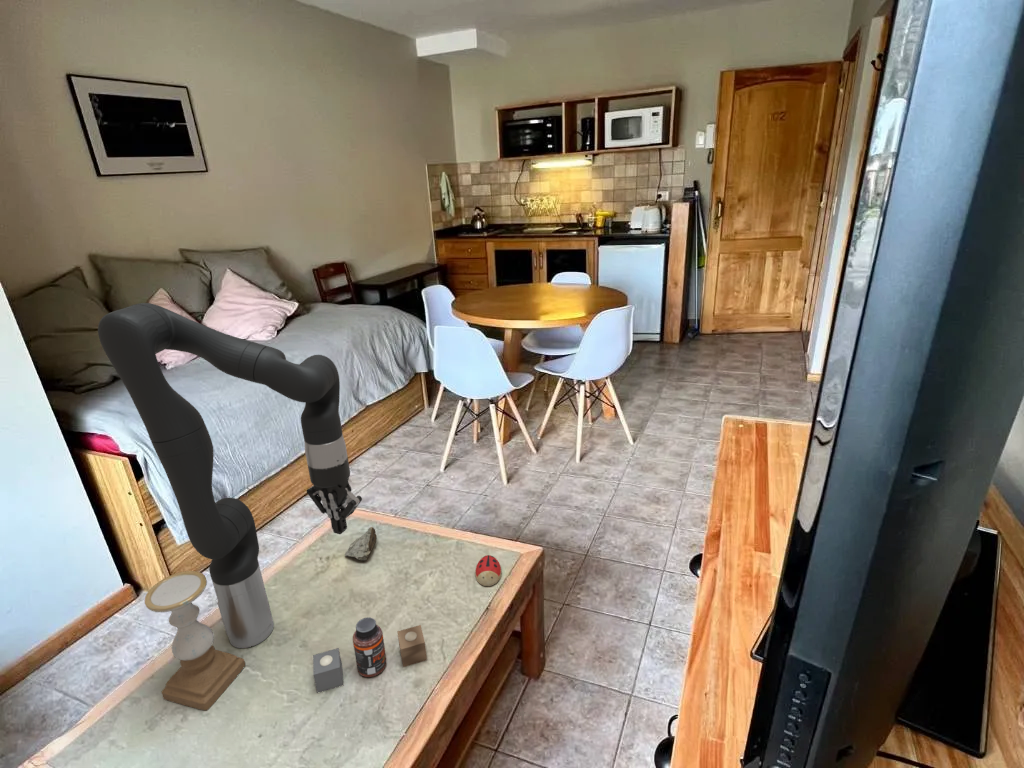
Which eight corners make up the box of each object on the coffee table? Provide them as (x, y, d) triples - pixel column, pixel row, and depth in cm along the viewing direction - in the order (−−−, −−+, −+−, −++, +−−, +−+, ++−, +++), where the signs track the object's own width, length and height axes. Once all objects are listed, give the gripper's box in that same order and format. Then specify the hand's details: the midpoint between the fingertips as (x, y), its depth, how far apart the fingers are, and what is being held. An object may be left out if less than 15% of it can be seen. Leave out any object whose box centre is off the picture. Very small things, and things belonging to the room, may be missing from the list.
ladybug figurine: (475, 589, 133) (474, 577, 132) (475, 562, 142) (474, 551, 141) (502, 587, 133) (502, 575, 132) (500, 560, 143) (500, 549, 141)
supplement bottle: (379, 681, 109) (372, 638, 105) (352, 676, 111) (344, 634, 107) (391, 656, 115) (385, 615, 111) (365, 652, 116) (358, 611, 112)
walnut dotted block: (403, 667, 112) (400, 648, 110) (399, 649, 117) (397, 630, 115) (427, 660, 114) (424, 641, 112) (422, 642, 118) (420, 624, 116)
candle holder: (247, 664, 114) (221, 573, 105) (207, 711, 104) (175, 615, 96) (204, 654, 117) (176, 565, 108) (161, 699, 107) (126, 604, 98)
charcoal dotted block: (317, 693, 107) (313, 674, 105) (316, 673, 112) (312, 654, 110) (343, 685, 109) (339, 666, 107) (342, 665, 113) (338, 647, 111)
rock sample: (340, 531, 150) (359, 518, 146) (364, 539, 154) (383, 526, 150) (336, 567, 143) (355, 554, 139) (361, 574, 147) (380, 562, 143)
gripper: (287, 459, 105) (302, 534, 111) (339, 473, 99) (352, 550, 106) (315, 443, 111) (329, 514, 118) (366, 455, 106) (377, 529, 112)
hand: (340, 531), depth 112 cm, fingers closed
